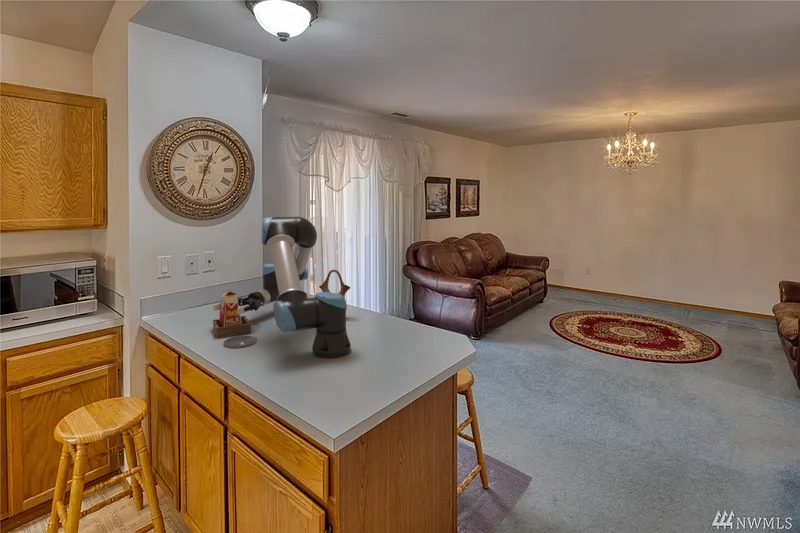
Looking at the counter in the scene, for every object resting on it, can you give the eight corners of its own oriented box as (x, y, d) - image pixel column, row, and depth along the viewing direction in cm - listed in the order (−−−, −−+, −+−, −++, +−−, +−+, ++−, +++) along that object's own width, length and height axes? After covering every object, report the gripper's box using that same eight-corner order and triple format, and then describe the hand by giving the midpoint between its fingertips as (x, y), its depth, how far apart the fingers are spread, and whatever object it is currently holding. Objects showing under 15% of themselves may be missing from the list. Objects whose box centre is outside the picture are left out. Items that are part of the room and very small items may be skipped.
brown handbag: (353, 317, 212) (353, 268, 208) (347, 322, 203) (346, 271, 199) (323, 315, 216) (322, 267, 211) (316, 320, 207) (314, 270, 203)
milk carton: (244, 332, 188) (241, 288, 185) (222, 335, 184) (219, 291, 180) (239, 326, 196) (237, 284, 193) (218, 329, 191) (215, 287, 188)
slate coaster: (259, 344, 172) (259, 343, 172) (226, 350, 166) (226, 348, 166) (253, 335, 183) (253, 333, 183) (221, 340, 177) (221, 338, 177)
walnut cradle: (251, 333, 186) (250, 323, 185) (217, 338, 179) (216, 328, 179) (245, 325, 198) (245, 315, 197) (213, 329, 191) (212, 320, 191)
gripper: (280, 309, 200) (248, 321, 180) (238, 303, 209) (204, 314, 189) (279, 293, 199) (247, 304, 179) (237, 289, 208) (203, 298, 188)
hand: (225, 309), depth 184 cm, fingers open, 13 cm apart
